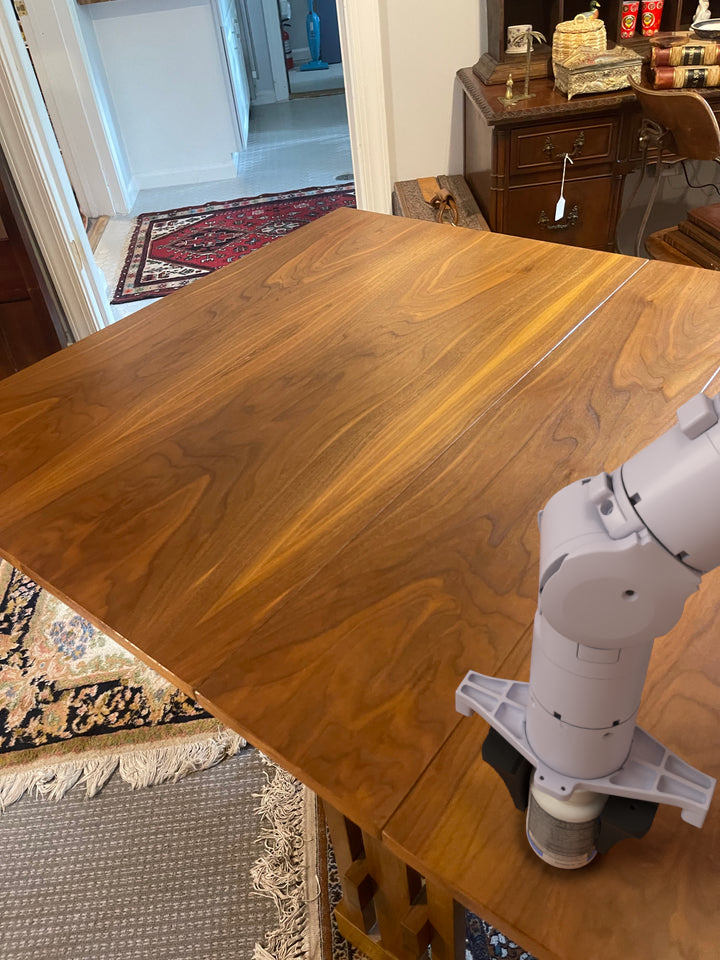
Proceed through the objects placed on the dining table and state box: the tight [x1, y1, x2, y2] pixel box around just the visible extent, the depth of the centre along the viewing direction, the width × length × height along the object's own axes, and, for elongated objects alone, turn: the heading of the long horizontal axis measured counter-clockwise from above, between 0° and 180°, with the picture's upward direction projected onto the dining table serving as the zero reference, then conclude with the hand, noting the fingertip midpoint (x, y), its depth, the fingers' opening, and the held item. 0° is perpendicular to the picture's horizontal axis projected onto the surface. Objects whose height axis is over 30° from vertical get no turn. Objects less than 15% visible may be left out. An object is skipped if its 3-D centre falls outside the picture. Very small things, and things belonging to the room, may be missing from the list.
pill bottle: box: [525, 766, 609, 870], centre depth 46 cm, size 5×5×8 cm
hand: (564, 817), depth 47 cm, fingers closed on pill bottle, 5 cm apart
